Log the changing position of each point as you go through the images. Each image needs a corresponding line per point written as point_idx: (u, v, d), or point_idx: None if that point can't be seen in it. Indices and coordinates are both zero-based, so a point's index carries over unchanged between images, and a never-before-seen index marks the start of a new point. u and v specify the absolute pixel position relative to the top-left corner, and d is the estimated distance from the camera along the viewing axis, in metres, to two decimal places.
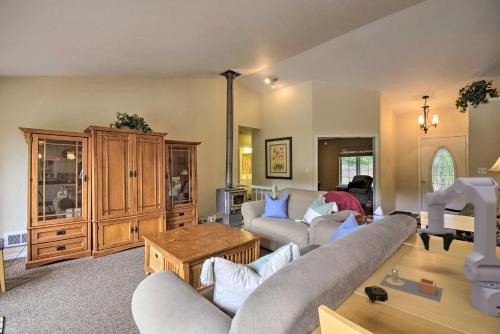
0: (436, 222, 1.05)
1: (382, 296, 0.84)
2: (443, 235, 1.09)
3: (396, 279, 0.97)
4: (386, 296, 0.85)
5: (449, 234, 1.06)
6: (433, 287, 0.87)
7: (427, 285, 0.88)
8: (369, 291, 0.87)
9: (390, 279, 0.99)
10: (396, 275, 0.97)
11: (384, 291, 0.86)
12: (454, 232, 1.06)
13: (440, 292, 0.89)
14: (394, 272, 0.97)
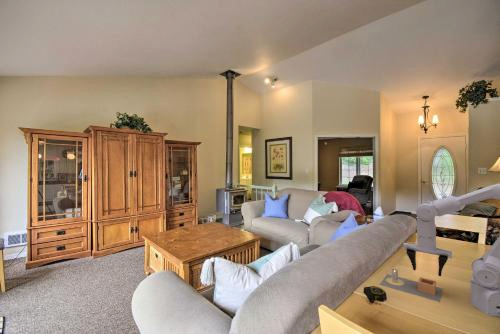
0: (421, 238, 0.89)
1: (381, 296, 0.84)
2: None
3: (396, 279, 0.97)
4: (385, 296, 0.85)
5: (442, 256, 0.87)
6: (433, 287, 0.87)
7: (427, 285, 0.88)
8: (368, 291, 0.87)
9: (390, 279, 0.99)
10: (396, 275, 0.97)
11: (383, 291, 0.86)
12: (449, 255, 0.85)
13: (440, 292, 0.89)
14: (394, 272, 0.97)
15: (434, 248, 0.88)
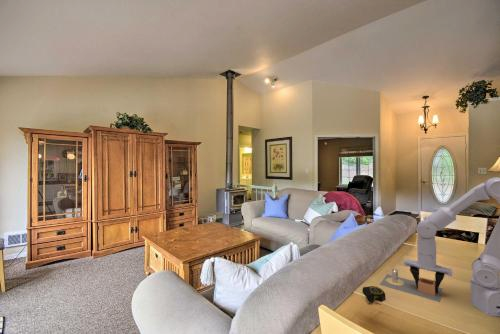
0: (422, 256, 0.89)
1: (380, 296, 0.84)
2: None
3: (396, 279, 0.97)
4: (384, 296, 0.85)
5: (442, 274, 0.87)
6: (433, 287, 0.87)
7: (427, 285, 0.88)
8: (367, 291, 0.87)
9: (390, 279, 0.99)
10: (396, 275, 0.97)
11: (382, 291, 0.86)
12: (449, 273, 0.85)
13: (440, 292, 0.89)
14: (394, 272, 0.97)
15: (434, 266, 0.88)
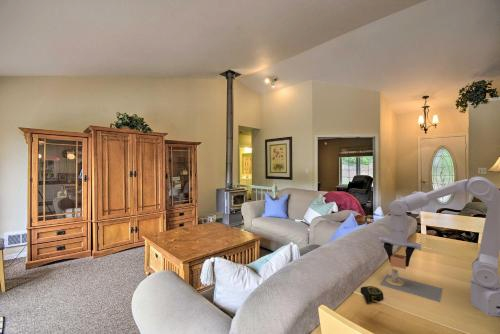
0: (394, 232, 0.95)
1: (378, 296, 0.85)
2: None
3: (396, 279, 0.97)
4: (382, 296, 0.85)
5: (412, 248, 0.93)
6: (404, 261, 0.93)
7: (398, 259, 0.94)
8: (365, 291, 0.87)
9: (390, 279, 0.99)
10: (396, 275, 0.97)
11: (380, 291, 0.87)
12: (418, 247, 0.91)
13: (440, 292, 0.89)
14: (394, 272, 0.97)
15: (405, 241, 0.94)
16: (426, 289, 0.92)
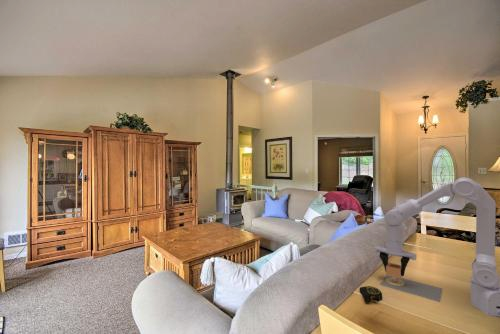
0: (389, 242, 0.96)
1: (376, 296, 0.85)
2: None
3: (396, 279, 0.97)
4: (380, 296, 0.85)
5: (407, 258, 0.94)
6: (399, 270, 0.94)
7: (394, 269, 0.96)
8: (364, 291, 0.87)
9: (390, 279, 0.99)
10: None
11: (379, 291, 0.87)
12: (413, 257, 0.92)
13: (440, 292, 0.89)
14: None
15: (400, 251, 0.95)
16: (426, 289, 0.92)
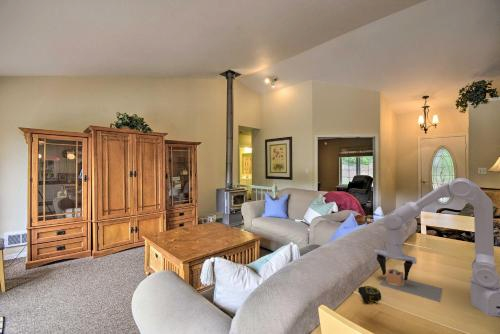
0: (389, 245, 0.96)
1: (375, 296, 0.85)
2: None
3: None
4: (379, 296, 0.85)
5: (408, 262, 0.94)
6: (399, 277, 0.94)
7: (394, 276, 0.96)
8: (362, 291, 0.88)
9: None
10: None
11: (377, 291, 0.87)
12: (413, 261, 0.92)
13: (440, 292, 0.89)
14: (394, 272, 0.97)
15: (400, 254, 0.95)
16: (426, 289, 0.92)
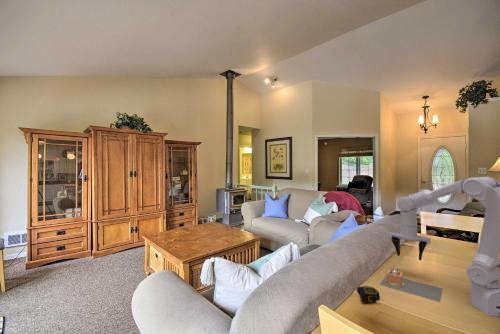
0: (404, 227, 1.01)
1: (374, 296, 0.85)
2: None
3: None
4: (378, 296, 0.85)
5: (422, 242, 0.98)
6: (399, 277, 0.94)
7: (394, 276, 0.96)
8: (361, 291, 0.88)
9: None
10: None
11: (376, 291, 0.87)
12: (428, 241, 0.97)
13: (440, 292, 0.89)
14: (394, 272, 0.97)
15: (415, 235, 0.99)
16: (426, 289, 0.92)
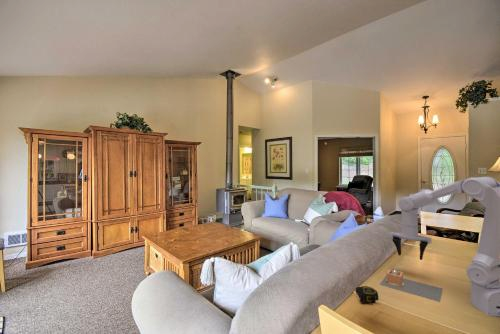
0: (405, 227, 1.01)
1: (372, 296, 0.85)
2: None
3: None
4: (376, 296, 0.85)
5: (423, 242, 0.99)
6: (399, 277, 0.94)
7: (394, 276, 0.96)
8: (360, 291, 0.88)
9: None
10: None
11: (375, 291, 0.87)
12: (429, 240, 0.97)
13: (440, 292, 0.89)
14: (394, 272, 0.97)
15: (416, 235, 1.00)
16: (426, 289, 0.92)
